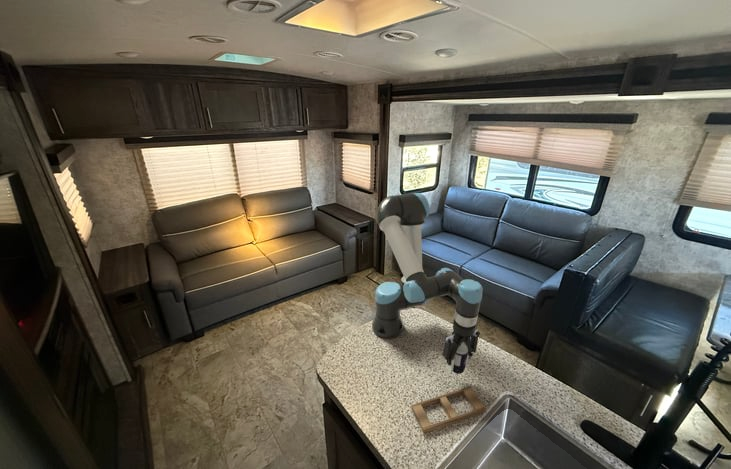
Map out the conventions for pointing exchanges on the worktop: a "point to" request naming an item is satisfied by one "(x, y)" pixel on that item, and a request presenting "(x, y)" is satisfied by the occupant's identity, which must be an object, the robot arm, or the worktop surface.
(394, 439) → the worktop surface
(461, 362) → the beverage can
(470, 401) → the wooden frame
